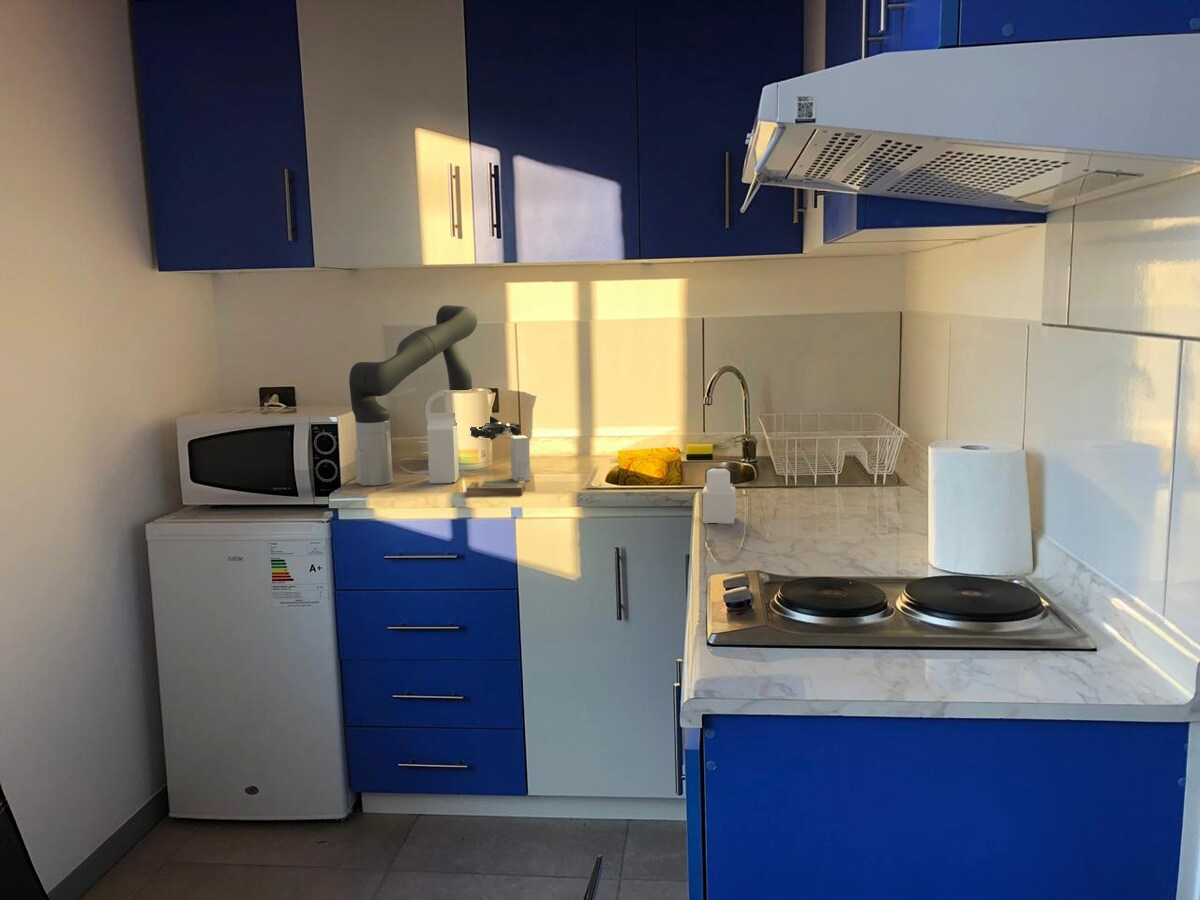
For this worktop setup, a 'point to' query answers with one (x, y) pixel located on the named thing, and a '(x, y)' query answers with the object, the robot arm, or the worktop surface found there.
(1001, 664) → the worktop surface
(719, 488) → the medicine bottle
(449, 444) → the milk carton
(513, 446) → the skincare box
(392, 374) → the robot arm
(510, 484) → the stop dock
